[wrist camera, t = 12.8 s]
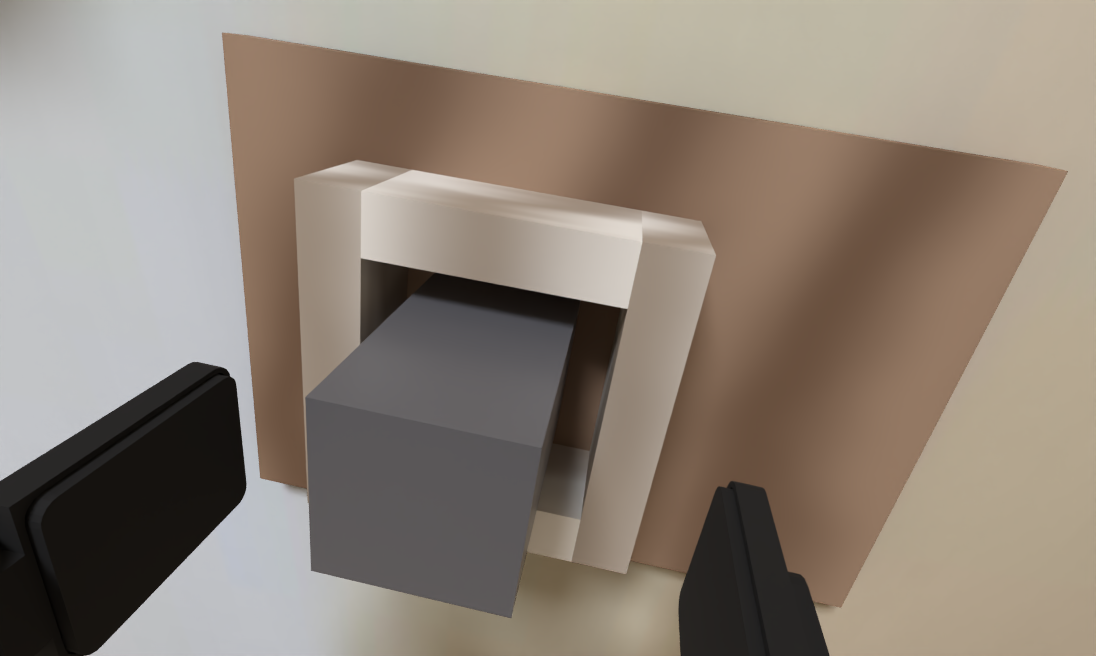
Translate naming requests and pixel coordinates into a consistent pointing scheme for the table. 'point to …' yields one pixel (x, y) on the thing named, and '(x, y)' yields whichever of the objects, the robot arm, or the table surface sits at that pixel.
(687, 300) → the board
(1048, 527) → the table surface
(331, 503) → the charger brick
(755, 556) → the robot arm
